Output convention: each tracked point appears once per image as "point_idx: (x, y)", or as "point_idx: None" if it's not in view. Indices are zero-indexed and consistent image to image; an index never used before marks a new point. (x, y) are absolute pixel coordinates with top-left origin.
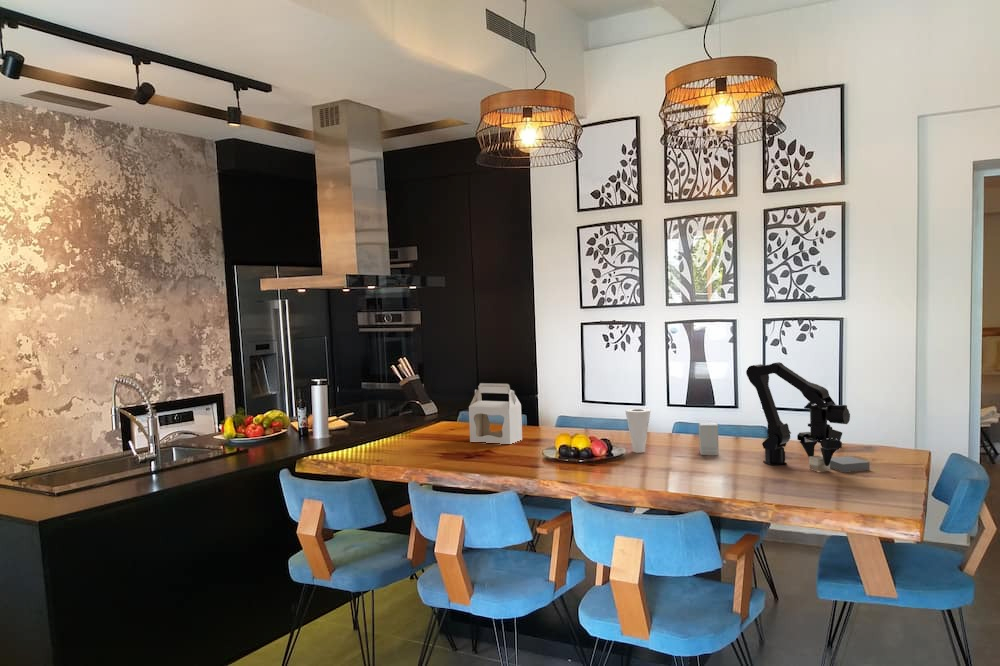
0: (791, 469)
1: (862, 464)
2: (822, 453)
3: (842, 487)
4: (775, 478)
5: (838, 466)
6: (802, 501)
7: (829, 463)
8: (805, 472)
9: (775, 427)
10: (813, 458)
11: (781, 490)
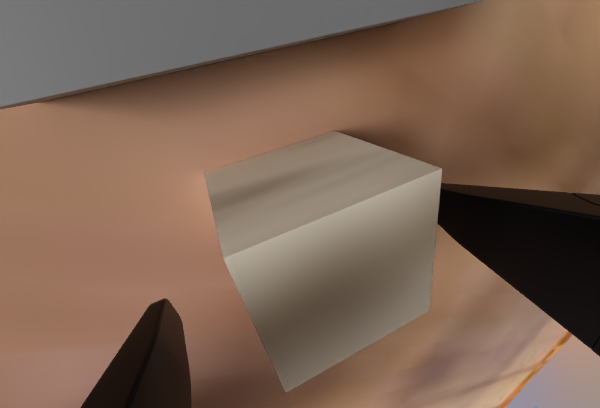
0: (247, 373)
1: None
2: (593, 335)
3: (586, 183)
4: (401, 388)
5: (373, 26)
6: None
7: (462, 186)
8: None
9: None
10: (358, 339)
11: (506, 350)
